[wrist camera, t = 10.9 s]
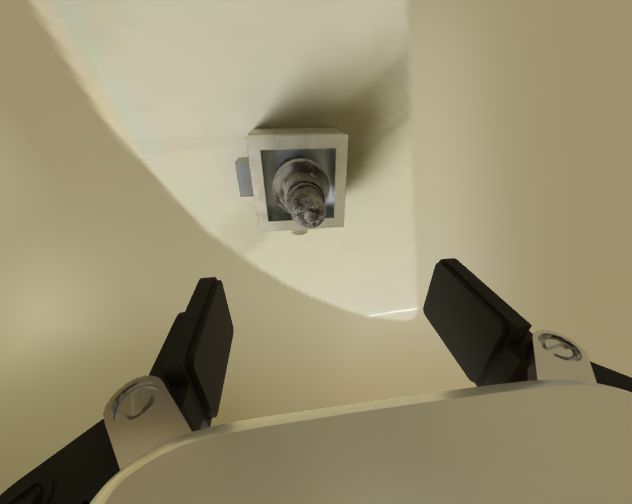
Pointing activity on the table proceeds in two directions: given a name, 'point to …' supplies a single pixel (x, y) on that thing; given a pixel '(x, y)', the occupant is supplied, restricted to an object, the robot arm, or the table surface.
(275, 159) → the grey open box
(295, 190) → the dark grey turned piece
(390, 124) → the table surface
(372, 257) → the table surface
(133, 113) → the table surface
